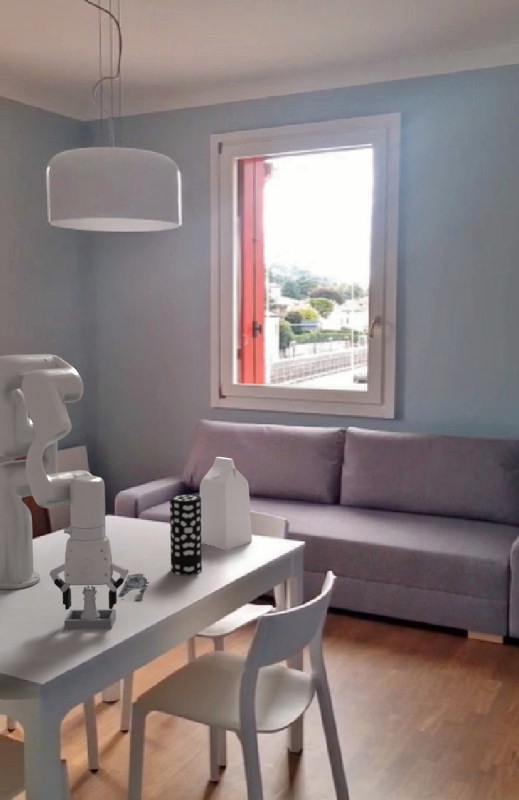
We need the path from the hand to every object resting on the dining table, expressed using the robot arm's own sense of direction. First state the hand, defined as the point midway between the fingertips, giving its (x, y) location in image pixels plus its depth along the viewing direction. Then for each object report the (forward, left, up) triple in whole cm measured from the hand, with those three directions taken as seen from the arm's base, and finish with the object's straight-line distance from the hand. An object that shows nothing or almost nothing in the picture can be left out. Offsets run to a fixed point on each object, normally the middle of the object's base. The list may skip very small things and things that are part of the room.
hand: (90, 607), depth 181 cm
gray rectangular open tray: (0, 0, -4) cm, 4 cm away
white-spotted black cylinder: (+19, +38, -4) cm, 43 cm away
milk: (+29, +66, -4) cm, 72 cm away
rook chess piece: (0, 0, -4) cm, 4 cm away
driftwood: (+7, +24, -5) cm, 26 cm away
